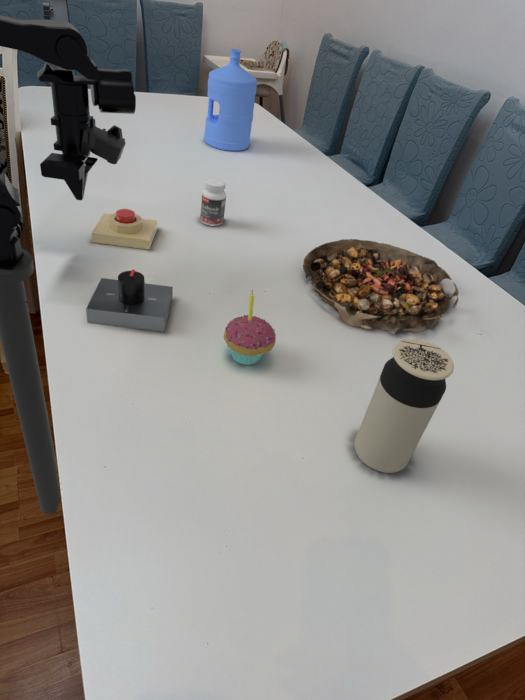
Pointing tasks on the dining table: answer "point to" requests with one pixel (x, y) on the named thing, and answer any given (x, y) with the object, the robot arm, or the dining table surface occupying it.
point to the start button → (125, 216)
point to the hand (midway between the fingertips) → (79, 199)
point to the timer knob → (131, 287)
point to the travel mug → (402, 404)
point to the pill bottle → (213, 202)
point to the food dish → (379, 285)
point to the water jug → (230, 106)
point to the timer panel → (130, 307)
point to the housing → (125, 232)
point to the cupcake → (249, 337)
